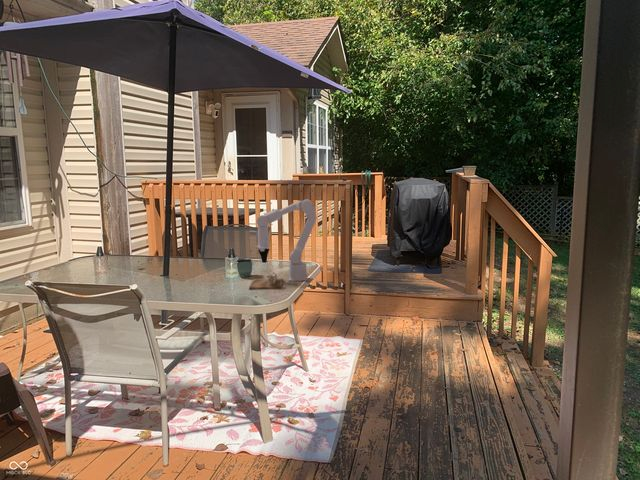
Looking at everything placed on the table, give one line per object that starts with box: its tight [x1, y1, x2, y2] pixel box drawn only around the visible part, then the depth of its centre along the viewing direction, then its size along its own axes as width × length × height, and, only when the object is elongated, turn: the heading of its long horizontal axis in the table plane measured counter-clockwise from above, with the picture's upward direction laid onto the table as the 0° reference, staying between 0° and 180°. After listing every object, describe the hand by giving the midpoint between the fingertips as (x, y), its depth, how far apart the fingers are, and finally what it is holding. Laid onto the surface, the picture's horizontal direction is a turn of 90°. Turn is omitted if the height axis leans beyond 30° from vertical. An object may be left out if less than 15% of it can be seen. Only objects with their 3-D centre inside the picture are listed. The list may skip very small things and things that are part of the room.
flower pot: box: [235, 258, 253, 278], centre depth 282 cm, size 9×9×9 cm
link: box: [267, 272, 278, 284], centre depth 262 cm, size 12×4×4 cm, turn 178°
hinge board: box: [248, 273, 284, 290], centre depth 260 cm, size 16×18×6 cm
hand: (264, 262), depth 270 cm, fingers closed
